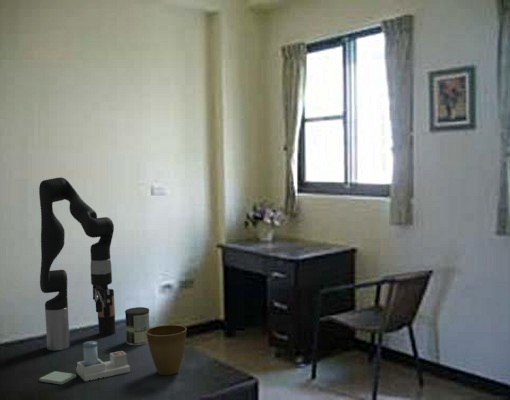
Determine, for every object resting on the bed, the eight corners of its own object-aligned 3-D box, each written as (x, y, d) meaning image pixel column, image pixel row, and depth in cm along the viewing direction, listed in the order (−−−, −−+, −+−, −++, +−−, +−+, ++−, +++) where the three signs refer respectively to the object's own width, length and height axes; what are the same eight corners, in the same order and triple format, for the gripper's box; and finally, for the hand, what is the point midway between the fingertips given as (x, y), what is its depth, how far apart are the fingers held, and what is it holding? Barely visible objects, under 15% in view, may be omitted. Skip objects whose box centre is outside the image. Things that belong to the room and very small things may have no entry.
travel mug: (111, 336, 279) (109, 292, 278) (95, 335, 281) (93, 292, 279) (118, 331, 287) (116, 288, 285) (103, 331, 288) (101, 288, 287)
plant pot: (194, 367, 235) (193, 325, 234) (177, 380, 221) (175, 336, 220) (159, 363, 240) (157, 323, 239) (140, 376, 226) (138, 333, 225)
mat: (39, 381, 224) (39, 378, 224) (54, 373, 232) (54, 371, 231) (61, 384, 220) (61, 381, 220) (76, 376, 228) (76, 374, 227)
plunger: (113, 362, 235) (113, 353, 235) (121, 360, 237) (120, 351, 236) (116, 364, 233) (115, 355, 232) (123, 363, 234) (123, 353, 234)
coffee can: (122, 345, 265) (121, 312, 264) (131, 338, 275) (129, 307, 274) (146, 345, 264) (144, 313, 263) (153, 338, 274) (152, 307, 273)
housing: (76, 372, 232) (75, 357, 231) (120, 363, 241) (119, 348, 240) (85, 381, 223) (84, 365, 222) (130, 371, 231) (129, 356, 231)
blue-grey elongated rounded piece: (82, 369, 230) (81, 342, 229) (96, 366, 233) (94, 340, 232) (86, 372, 226) (85, 346, 225) (100, 370, 228) (99, 343, 228)
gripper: (85, 269, 233) (86, 312, 235) (97, 275, 222) (99, 320, 223) (104, 267, 238) (106, 309, 239) (117, 272, 226) (119, 316, 227)
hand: (103, 314), depth 231 cm, fingers open, 8 cm apart
